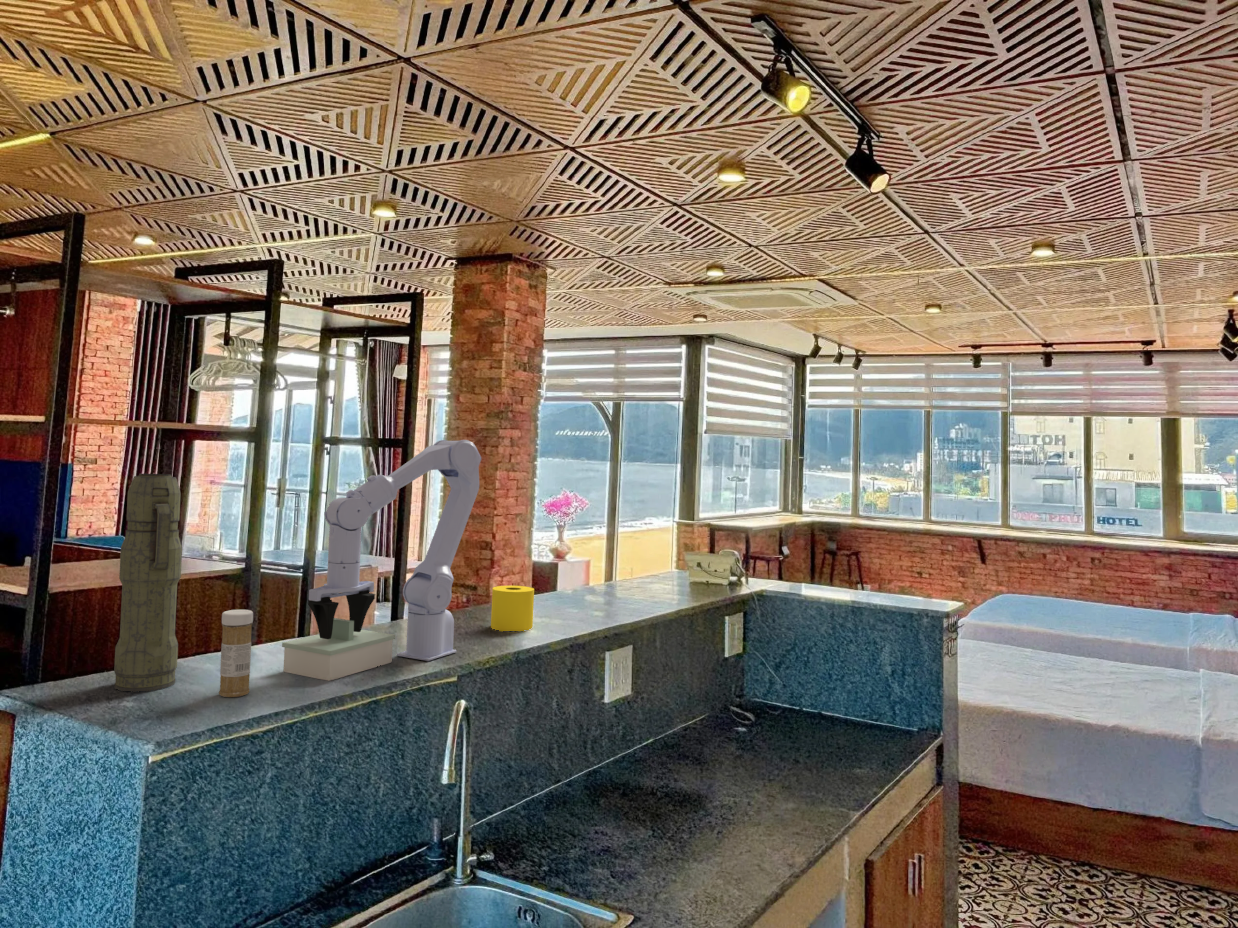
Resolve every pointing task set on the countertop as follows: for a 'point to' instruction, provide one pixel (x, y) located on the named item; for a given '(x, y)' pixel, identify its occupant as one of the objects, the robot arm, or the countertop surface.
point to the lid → (339, 639)
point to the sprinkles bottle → (235, 653)
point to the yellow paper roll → (512, 608)
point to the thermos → (149, 585)
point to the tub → (337, 661)
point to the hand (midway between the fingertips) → (340, 634)
